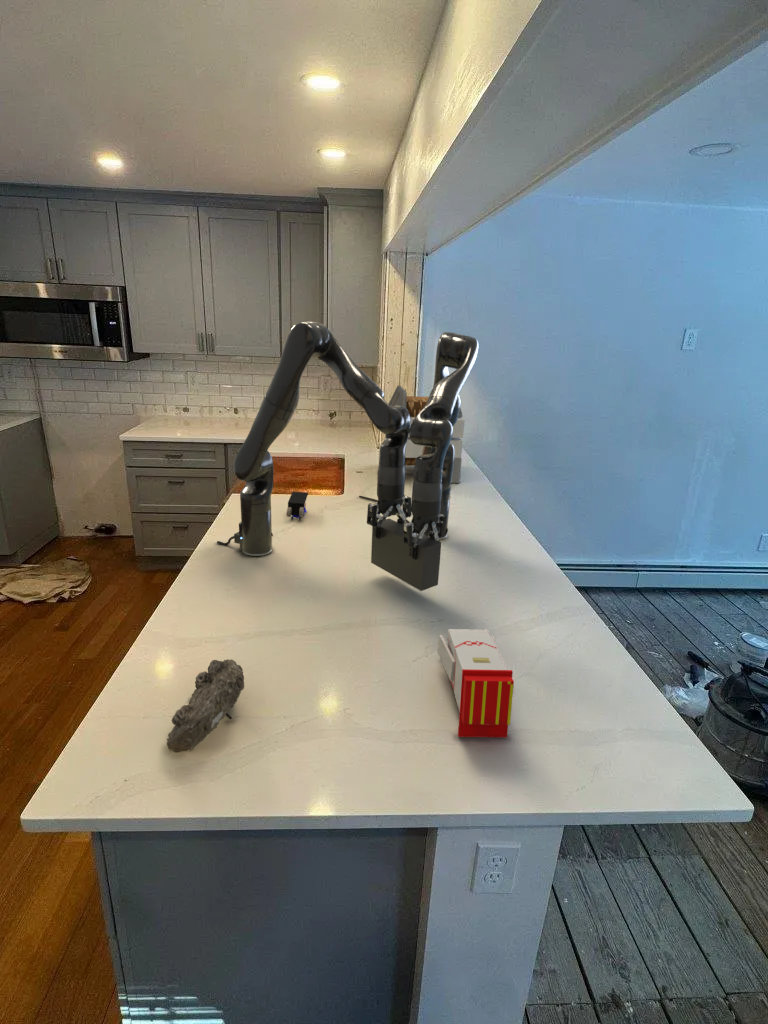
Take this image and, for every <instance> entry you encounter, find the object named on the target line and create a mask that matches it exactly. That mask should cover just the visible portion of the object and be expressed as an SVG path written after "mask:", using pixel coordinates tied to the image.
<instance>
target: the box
mask: <svg viewBox="0 0 768 1024" xmlns="http://www.w3.org/2000/svg"><path fill="white" fill-rule="evenodd" d="M378 521H379V520H378ZM378 521H377V522H378ZM380 527H381V538H380V539H378V540H377V539H375V538H374V537H373V526H371V550H370V551H371V553H370V564H373V565H374V566H376V567H377V568H380V569H381V570H383V571H385V572H386V573H389V574H390V575H392V576H394V577H395V578H397V579H398V580H400V581H402V582H404V583H406V584H407V585H410V586H412V587H413V588H414V589H416V590H418V591H420V592H423V591H426V590H428V589H431V588H434V587H436V586H438V585H439V578H440V577H439V576H440V564H441V555H442V554H441V552H442V542H441V541H437V540H435V539H433V538H431V537H428V536H426V535H423V537H422V539H421V540H420V541H419V543H418V545H417V547H418V549H417V559H416V560H412V559H410V557H409V546H407V545H405V544H403V535H402V524H400V523H398V522H397V520H393V519H392V518H386V520H385V521H383V522H382V524H381V526H380ZM415 534H416V535H419V534H418V533H416V532H415ZM407 540H408V539H407ZM414 541H415V538H414V540H413V542H414Z"/></svg>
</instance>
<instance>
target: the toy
mask: <svg viewBox="0 0 768 1024" xmlns="http://www.w3.org/2000/svg"><path fill="white" fill-rule="evenodd" d="M446 640H447V643H446V641H445V639H444V636H443V635H442V634H439V637H438V646H437V656H438V657H439V659H440V661H441V663H442V666H443V668H444V670H445V672H446V674H447V677H448V679H449V681H450V684H451V687H452V690H453V693H454V697H455V701H456V705H457V708H458V711H459V714H458V715H459V716H458V730H457V731H458V732H457V737H458V738H508V731H509V726H510V725H511V717H512V707H513V697H514V696H513V695H514V684H515V680H514V679H513V673H514V671H513V670H512V669H508V667H507V665H506V662H505V661H504V659H503V658H502V655H501V653H500V651H499V649H498V647H497V643H496V639H495V637H494V635H493V634H491V632H490V631H489V629H467V628H466V629H465V628H463V629H461V628H460V629H459V628H448V630H447V639H446Z"/></svg>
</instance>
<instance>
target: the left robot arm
mask: <svg viewBox="0 0 768 1024" xmlns="http://www.w3.org/2000/svg"><path fill="white" fill-rule="evenodd" d="M312 358H317V359H319V360H320V361H322V362H323V363H324V364H325V365H327V366H328V367H329V368H330V369H331V370H332V372H333V373H334V374H335V376H336V377H337V379H338V380H339V382H340V384H341V387H342V388H343V390H344V391H345V392H346V394H348V395H349V397H350V398H351V399H352V400H353V401H354V402H355V403H357V405H359V407H361V409H363V410H364V412H365V413H366V415H367V417H368V419H369V420H370V421H371V423H372V424H373V425H374V427H375V428H376V429H377V430H378V431H379V432H380V433H382V434H384V435H385V436H384V439H383V441H382V443H381V444H380V445H379V450H378V451H379V452H378V453H379V454H378V468H377V477H376V479H377V481H376V482H377V483H376V496H377V500H378V502H376V503H372V502H371V503H370V502H369V503H368V504H367V513H366V524H367V525H369V526H371V527H372V526H373V537H374V538H375V539H377V540H378V539H380V538H381V527H380V526H381V524H382V522H383V521H385V520H386V519H388V518H390V517H392V516H396V517H397V518H396V522H398V523H400V524H403V523H406V521H405V520H407V519H408V518H411V517H412V512H411V504H412V497H410V496H407V495H405V486H406V465H405V448H406V444H407V441H408V436H409V429H410V426H411V418H410V414H409V412H408V410H407V409H406V408H405V407H403V406H400V405H396V406H392V407H391V406H390V405H389V404H388V403H389V402H388V401H386V399H385V393H384V391H383V390H382V388H380V386H378V384H377V383H375V382H374V380H372V379H371V378H370V376H368V374H366V373H365V371H363V370H362V369H361V368H360V367H359V366H358V365H357V364H356V362H355V361H354V360H353V359H352V358H351V357H350V355H349V354H348V353H347V352H346V351H345V350H344V348H343V347H342V346H341V344H340V343H339V342H338V340H337V339H336V337H335V336H334V335H333V333H332V332H331V330H330V329H329V328H327V326H326V325H325V324H324V323H322V322H319V321H300V322H297V323H295V324H294V325H293V326H292V327H291V329H290V330H289V332H288V334H287V338H286V340H285V343H284V347H283V351H282V354H281V357H280V360H279V362H278V365H277V367H276V370H275V373H274V375H273V377H272V378H271V382H270V383H269V386H268V389H267V391H266V393H265V395H264V396H263V399H262V402H261V403H260V405H259V406H260V407H259V409H258V412H257V414H256V416H255V418H254V421H253V422H252V424H251V428H250V430H249V432H248V434H247V436H246V438H245V439H244V441H243V442H242V443H243V444H242V445H241V447H240V448H239V450H238V452H237V454H236V455H235V457H234V459H233V467H232V468H233V472H234V475H235V476H236V478H237V479H238V480H239V481H241V482H245V485H244V486H243V487H242V489H241V490H240V492H239V501H240V502H239V503H240V522H239V523H238V531H237V532H235V533H234V534H233V536H231V537H229V539H228V540H227V542H222V541H220V540H216V543H217V544H219V545H222V546H229V545H230V543H231V541H232V540H234V544H237V545H239V551H240V552H242V553H243V555H246V556H249V557H263V556H266V555H269V554H271V553H272V552H273V537H274V534H273V531H272V530H273V528H272V526H273V525H272V493H273V489H274V473H275V472H274V470H275V469H274V460H273V456H272V454H271V453H270V451H269V449H270V447H271V445H272V444H273V443H274V442H275V440H277V438H278V437H279V436H280V435H281V434H282V433H283V432H284V430H285V429H286V428H287V426H288V425H289V423H290V422H291V420H292V418H293V415H294V413H295V411H296V409H297V408H298V404H299V400H300V384H301V379H302V376H303V373H304V371H305V370H306V367H307V365H308V363H309V362H310V360H311V359H312ZM377 521H378V522H377Z"/></svg>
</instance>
